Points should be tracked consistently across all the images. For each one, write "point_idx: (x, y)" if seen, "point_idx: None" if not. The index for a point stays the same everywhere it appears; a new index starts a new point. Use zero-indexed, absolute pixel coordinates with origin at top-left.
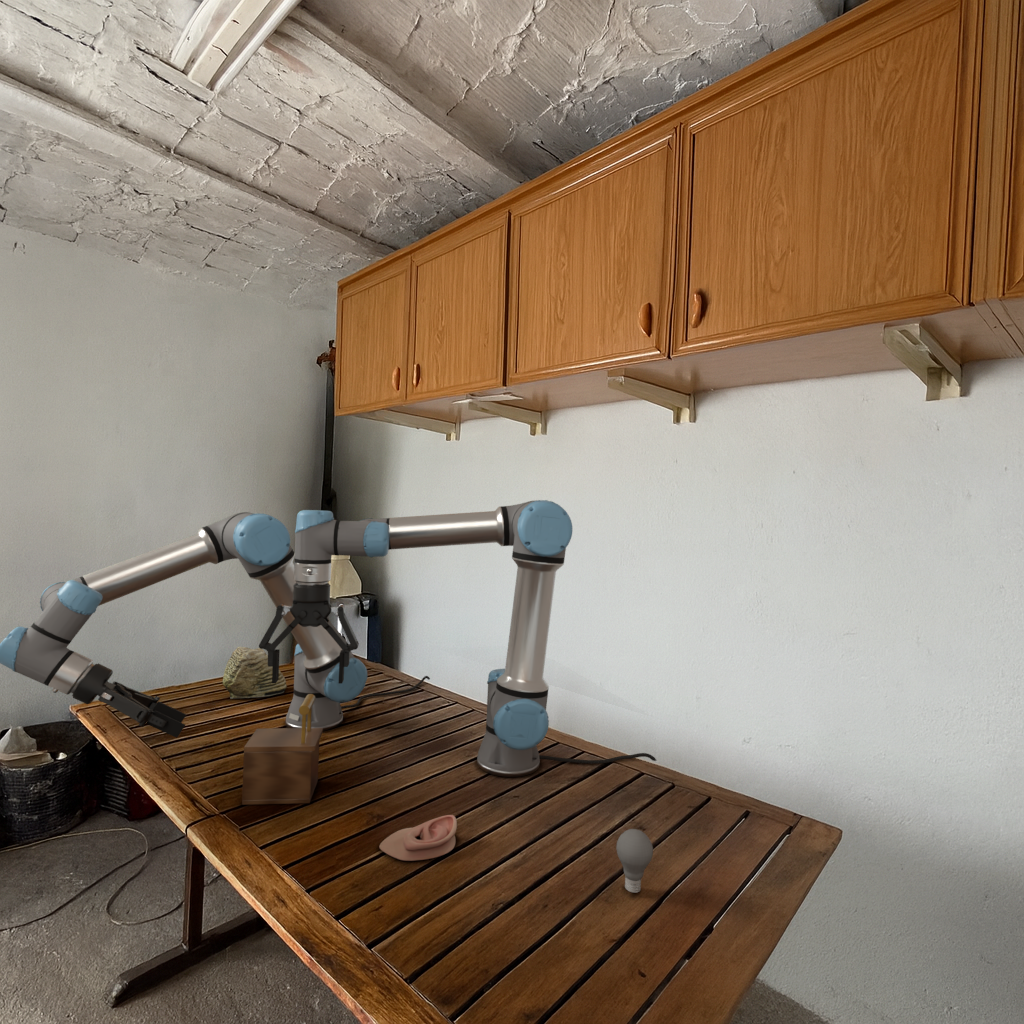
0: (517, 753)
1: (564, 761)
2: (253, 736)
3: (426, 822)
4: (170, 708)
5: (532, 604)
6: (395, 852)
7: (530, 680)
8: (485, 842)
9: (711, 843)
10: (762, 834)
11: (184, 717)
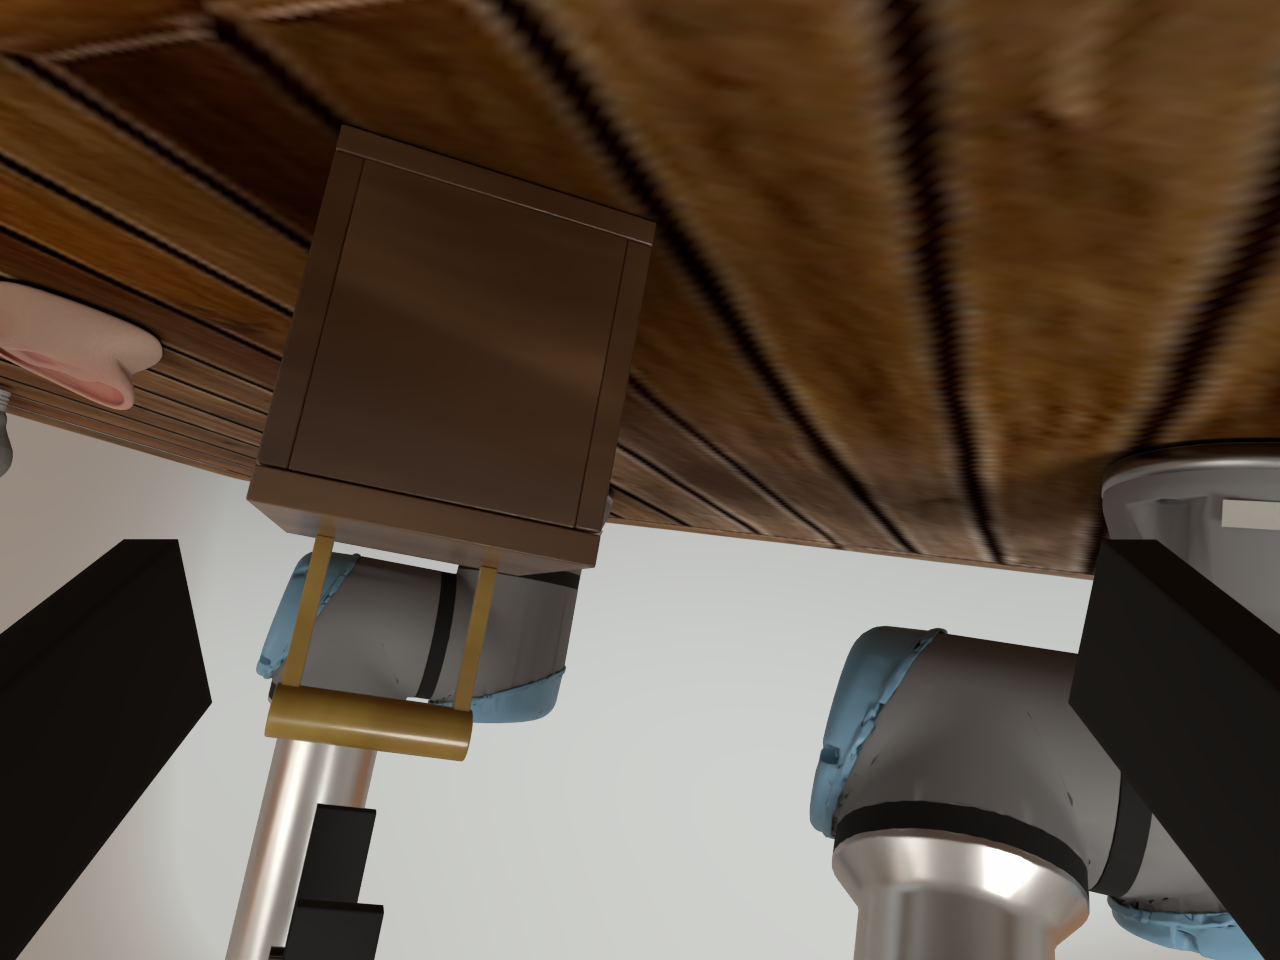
0: None
1: None
2: (443, 539)
3: (101, 378)
4: (1222, 880)
5: (236, 916)
6: None
7: None
8: None
9: (187, 447)
10: (224, 465)
11: (1075, 669)
